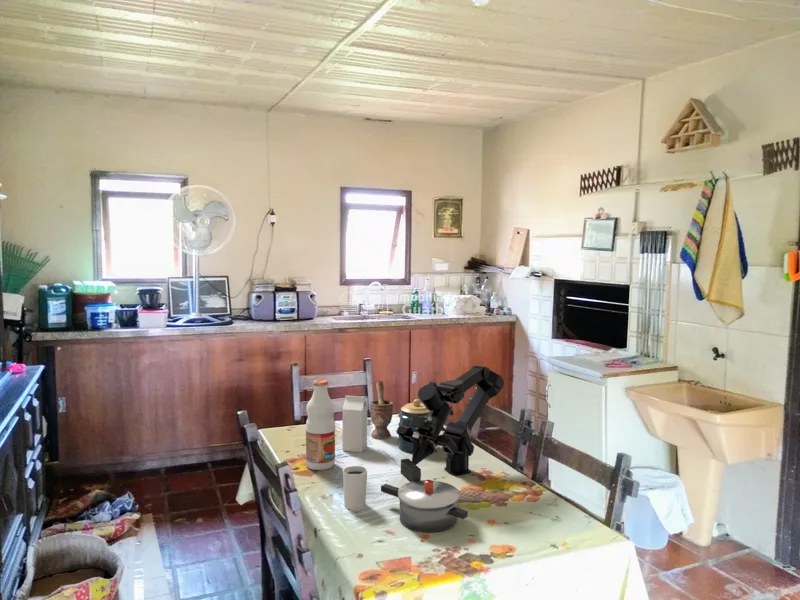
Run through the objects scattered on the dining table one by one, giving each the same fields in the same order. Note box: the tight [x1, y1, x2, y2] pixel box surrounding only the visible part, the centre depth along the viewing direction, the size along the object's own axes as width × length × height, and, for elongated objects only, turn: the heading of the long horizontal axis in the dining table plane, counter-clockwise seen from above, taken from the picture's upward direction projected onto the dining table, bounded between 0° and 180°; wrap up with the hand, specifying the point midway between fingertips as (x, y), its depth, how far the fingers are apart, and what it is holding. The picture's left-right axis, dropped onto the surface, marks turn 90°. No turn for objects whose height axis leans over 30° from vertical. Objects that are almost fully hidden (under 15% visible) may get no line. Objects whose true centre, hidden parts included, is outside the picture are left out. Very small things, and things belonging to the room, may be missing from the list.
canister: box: [397, 398, 430, 454], centre depth 212 cm, size 13×13×18 cm
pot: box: [380, 483, 469, 534], centre depth 157 cm, size 15×27×6 cm, turn 51°
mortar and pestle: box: [369, 380, 394, 440], centre depth 226 cm, size 12×9×20 cm
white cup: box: [342, 465, 368, 511], centre depth 164 cm, size 7×7×10 cm
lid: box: [397, 458, 460, 510], centre depth 160 cm, size 16×25×4 cm, turn 21°
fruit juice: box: [305, 379, 336, 471], centre depth 193 cm, size 9×9×28 cm
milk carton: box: [341, 395, 368, 453], centre depth 210 cm, size 7×7×19 cm
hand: (413, 464), depth 172 cm, fingers closed
